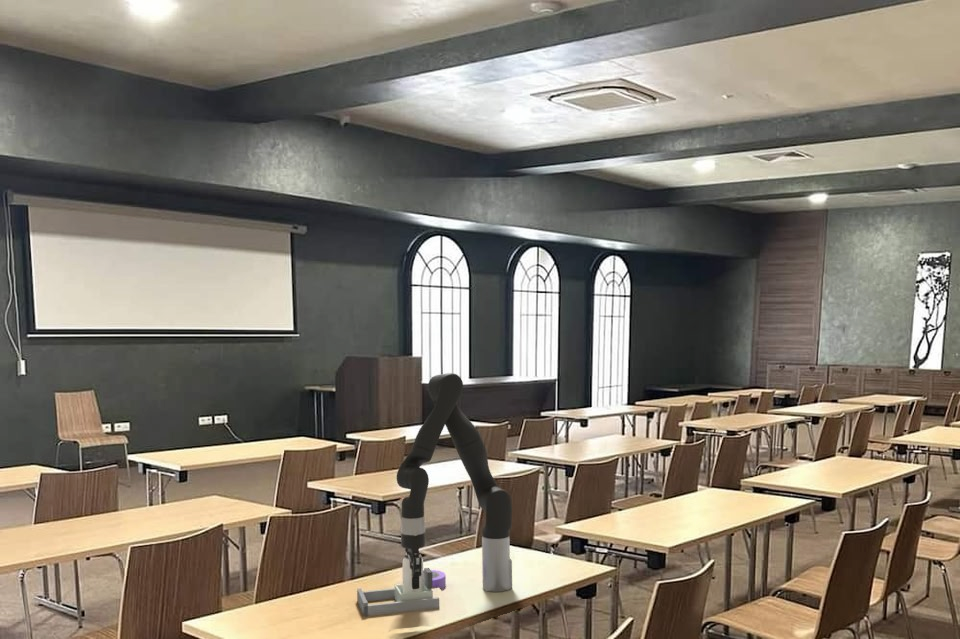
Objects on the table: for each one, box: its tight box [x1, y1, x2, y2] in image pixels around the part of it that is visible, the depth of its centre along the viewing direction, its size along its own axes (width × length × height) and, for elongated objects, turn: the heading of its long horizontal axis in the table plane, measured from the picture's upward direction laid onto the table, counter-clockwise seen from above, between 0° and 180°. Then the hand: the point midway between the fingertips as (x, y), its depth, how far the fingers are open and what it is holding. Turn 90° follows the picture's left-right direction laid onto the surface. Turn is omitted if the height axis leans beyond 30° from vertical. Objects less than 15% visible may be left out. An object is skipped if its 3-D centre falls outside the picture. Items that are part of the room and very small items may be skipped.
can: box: [402, 554, 424, 594], centre depth 238 cm, size 6×6×12 cm
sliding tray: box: [394, 567, 434, 602], centre depth 238 cm, size 10×10×10 cm
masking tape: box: [423, 569, 447, 590], centre depth 258 cm, size 12×12×4 cm
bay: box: [356, 587, 440, 617], centre depth 236 cm, size 23×14×5 cm, turn 107°
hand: (413, 585), depth 238 cm, fingers closed on can, 5 cm apart
